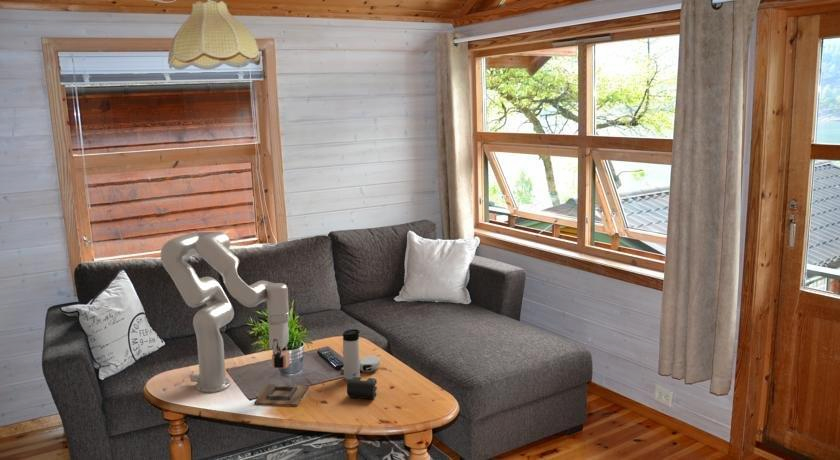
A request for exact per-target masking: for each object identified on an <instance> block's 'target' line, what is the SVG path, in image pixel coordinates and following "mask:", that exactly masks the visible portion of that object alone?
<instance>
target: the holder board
mask: <svg viewBox="0 0 840 460" xmlns="http://www.w3.org/2000/svg"><path fill="white" fill-rule="evenodd" d="M309 387H310V386H309V385H296V384H270V383H269V384H267V385H266V386H265V388H264V389H263V390H262V392H260V393H259V396H257V398H255V399H256V400H254V401H253V405H254V406H256V405H257V406H259V405H260V406H277V407H278V406H279V407H298V406H299V405H300V403H301V401H302V400H301V399H303V398H304V396H305V395H306V393H307V392H308V390H309ZM304 394H305V395H304ZM299 402H300V403H299ZM287 405H289V406H287Z"/></svg>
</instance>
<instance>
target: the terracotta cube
mask: <svg viewBox="0 0 840 460" xmlns="http://www.w3.org/2000/svg"><path fill="white" fill-rule="evenodd" d="M278 352H279V353H280V351H278ZM282 357H283V368H282V369H288V367H289V366H290V364H291V359H290V358H291V357H290V350H288V349H287V350H282ZM271 358H272V359H271V360H272V369H276V368H275V367H274V355H273V354H271Z"/></svg>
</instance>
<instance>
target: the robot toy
mask: <svg viewBox="0 0 840 460" xmlns="http://www.w3.org/2000/svg"><path fill="white" fill-rule="evenodd" d="M380 356H381V355H380V354H378V355H365V356H363V357H361V359H360V358H359V363H360V371H361V372H366V373H371V372H373V371H375V370H376V369H378V368H379V366H380V365H381V364H380ZM342 365H343V367H341V368H340V370H341V371H344V362H343V364H342Z"/></svg>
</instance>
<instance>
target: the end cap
mask: <svg viewBox="0 0 840 460" xmlns="http://www.w3.org/2000/svg"><path fill="white" fill-rule="evenodd" d="M361 379H362V377H361V376H360V377H354V378H353V379H352V380H349V381H347V385H346V394H347V396H349V398H360V399H371V400H372V399H373V400H374V399H375V398H376V396H377V392H376V391H377V389H378V386H376V385H377V383H378V381H377V378H371V377H369V378H368V379H367V380H361Z"/></svg>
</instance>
